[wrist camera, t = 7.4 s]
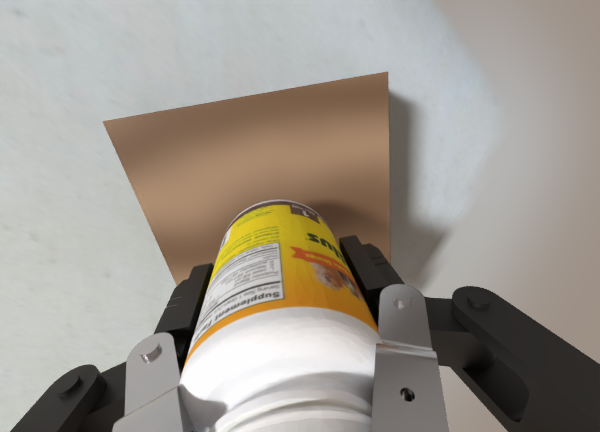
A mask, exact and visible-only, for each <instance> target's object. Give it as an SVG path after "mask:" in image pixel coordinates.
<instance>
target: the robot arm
mask: <svg viewBox="0 0 600 432" xmlns="http://www.w3.org/2000/svg"><path fill="white" fill-rule="evenodd" d="M339 248H340V251H341V253H342V255H343V257H344V259H345V261H346V263H347V265H348V267H349V269H350V271H351V273H352V275H353V277H354V279H355V281H356V283H357V285H358V287H359V289H360V291H361V293H362V295H363V297H364V299H365V302H366V304H367V306H368V308H369V310H370V312H371V314H372V316H373V318H374V320H375V323H376V325H377V326H378V333H379V336H380V338H381V341H382V343H383V344H381V343H376V352H375V369H374V386H373V404H372V421H371V432H449V428H448V422H447V417H446V416H447V415H446V409H445V403H444V397H443V390H442V384H441V378H440V372H439V365H440V366H449V367H451V368H452V370H453V371H454V372H455V373H456V374H457V375H458V376H459V377H460V379H461V380H462V381H463V382H464V383H465V384H466V385H467V386H468V387H469V389H470V390H471V391H472V392H473V393H474V394H475V395H476V396H477V398H478V399H479V400H480V401H481V402H482V403H483V404H484V405H485V406H486V407H487V409H488V410H489V411H490V412H491V413H492V414H493V415H494V416H495V418H496V419H497V420H498V421H499V422H500V423H501V424H502V425H503V426H504V428H505V429H506V430H507V431H508V432H600V364H599V363H597V362H595V361H594V360H593V359H591V358H590V357H588V356H587V355H585V354H584V353H582V352H580V351H579V350H578V349H576V348H575V347H573V346H572V345H570V344H569V343H567V342H566V341H564V340H563V339H562V338H560V337H559V336H557V335H555V334H554V333H552V332H551V331H550V330H548V329H547V328H545V327H544V326H542V325H541V324H539V323H538V322H536V321H535V320H533V319H532V318H530V317H529V316H527V315H526V314H524V313H523V312H521V311H520V310H519V309H517V308H516V307H514V306H513V305H511V304H510V303H508V302H507V301H505V300H504V299H502V298H501V297H499V296H498V295H496V294H495V293H493V292H491V291H489V290H487V289H484V288H480V287H473V286H466V287H462V288H459V289H457V290H455V291H454V293H453V295H452V299H442V298H429V297H424V296H423V295H422V293H421V292H420V291H419V290H417V289H416V288H414V287H411V286H408V285H405V284H404V282H403V281H402V280H401V278H400V277H399V276H398V274H397V273H396V271H395V270H394V269H393V267H392V266H391V265H390V263H388V261H387V259H386V258H385V257H384V255H383V254H382V252H381V251H380V250H379V248H377V247H375V246H374V245H372V244H370V243H368V244H363V245H362V244H361V242H360V241H359V239H358V237H357V236H356V235H351V236H346V237H341V238H339ZM213 269H214V265H213V264H212V263H208V264H203V265H198V266H194V267H193V269H192V271H191V273H190V276H189V278H188V279H186V280H183V281H182V282H181V283H180V284H179V285H178V286H177V287H176V288H175V289H174V291H173V293H172V295H171V297H170V300H169V302H168V304H167V308H165V310H164V313H163V315H162V317H161V319H160V321H159V323H158V325H157V328H156V330H155V332H154V334H153V335H151V336H149V337H147V338H145V339H144V340H142V341H141V342H140V343H138V344H137V345H136V346H135V347H134V348H133V350H132V351H131V352H130V354H129V356H128V358H127V361H126V362H124V363H122V364H120V365H117V366H115V367H113V368H111V369H109V370H106V371H104V372H102V373H100V372H99V370H98V369H97V368H96V366H94V365H83V366H79V367H77V368H75V369H73V370H71V371H69V372H67V373H66V374H64V375H63V376H61V377H60V378H59V379H58V380H56V381H55V382H54V383H53V384H52V385H51V386H50V387H49V388H48V389H47V391H46V392H45V393H44V394H43V395H42V396H41V397H40V398H39V400H38V401H37V402H36V403H35V404H34V405H33V406H32V407H31V409H30V410H29V411H28V412H27V413H26V414H25V415H24V417H23V418H22V419H21V420H20V421H19V422H18V423H17V424H16V426H15V427H14V428H13V429H12V430H11V431H10V432H197V431H196V429H195V427H194V425H193V423H192V421H191V419H190V417H189V415H188V413H187V410H186V408H185V405H184V403H183V400H182V396H181V392H180V386H179V383H180V379H181V375H182V372H183V368H184V365H185V362H186V359H187V355H188V352H189V348H190V345H191V341H192V338H193V335H194V332H195V329H196V326H197V322H198V319H199V316H200V312H201V309H202V306H203V302H204V299H205V295H206V292H207V289H208V285H209V282H210V279H211V276H212V273H213Z"/></svg>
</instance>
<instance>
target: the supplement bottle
mask: <svg viewBox="0 0 600 432" xmlns="http://www.w3.org/2000/svg"><path fill="white" fill-rule="evenodd" d="M376 343H381V344H383V343H382V341H381V338H380V336H379V333H378V326H377V325H376V323H375V320H374V318H373V316H372V314H371V312H370V310H369V308H368V306H367V304H366V302H365V299H364V297H363V295H362V293H361V291H360V289H359V287H358V285H357V283H356V281H355V279H354V277H353V275H352V273H351V271H350V269H349V267H348V265H347V263H346V261H345V259H344V257H343V255H342V253H341V251H340V249H339V246H338V244H337V242H336V240H335V238H334V236H333V234H332V232H331V230H330V229H329V227H328V225H327V224H326V222H325V221H324V220H323V218H322V217H321V216H320V215H319V214H318V213H316V212H315V211H314V210H312V209H311V208H309V207H307V206H305V205H303V204H301V203H298V202H295V201H290V200H269V201H264V202H261V203H258V204H255V205H253V206H251V207H249V208H247V209H246V210H244V211H243V212H241V213H240V214H239V215H238V216H237V217H236V218H235V219H234V220H233V221H232V222H231V224H230V225H229V227H228V229H227V230H226V233H225V235H224V237H223V240H222V243H221V247H220V250H219V253H218V256H217V259H216V263H215V266H214V269H213V273H212V276H211V279H210V282H209V285H208V289H207V292H206V295H205V299H204V302H203V306H202V309H201V312H200V316H199V319H198V322H197V326H196V329H195V332H194V335H193V338H192V341H191V345H190V348H189V352H188V355H187V359H186V362H185V365H184V368H183V372H182V375H181V379H180V383H179V386H180V392H181V396H182V400H183V403H184V405H185V408H186V410H187V413H188V415H189V417H190V419H191V421H192V423H193V425H194V427H195V429H196V431H197V432H371V421H372V404H373V386H374V369H375V352H376Z"/></svg>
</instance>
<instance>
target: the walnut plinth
mask: <svg viewBox="0 0 600 432" xmlns="http://www.w3.org/2000/svg"><path fill="white" fill-rule="evenodd" d="M103 124H104V126H105V128H106V130H107V132H108V135H109V137H110V139H111V141H112V143H113V146H114V148H115V150H116V152H117V154H118V157H119V159H120V161H121V163H122V166H123V168H124V170H125V172H126V174H127V177H128V179H129V181H130V183H131V185H132V188H133V190H134V192H135V194H136V196H137V199H138V201H139V203H140V205H141V208H142V210H143V212H144V214H145V216H146V219H147V221H148V223H149V225H150V227H151V230H152V232H153V234H154V236H155V238H156V241H157V243H158V245H159V247H160V250H161V252H162V254H163V256H164V258H165V261H166V263H167V265H168V267H169V269H170V272H171V274H172V276H173V278H174V281H175V283H176V285H177V286H178V285H179V284H180V283H181V282H182V281H183V280H186V279H188V278H189V276H190V273H191V271H192V269H193V267H194V266H198V265H203V264H208V263H212V264H213V265H214V266H215V263H216V259H217V256H218V253H219V250H220V247H221V243H222V240H223V237H224V235H225V233H226V230H227V229H228V227H229V225H230V224H231V222H232V221H233V220H234V219H235V218H236V217H237V216H238V215H239V214H240V213H241V212H243V211H244V210H246V209H247V208H249V207H251V206H253V205H255V204H258V203H261V202H264V201H269V200H290V201H295V202H298V203H301V204H303V205H305V206H307V207H309V208H311V209H312V210H314V211H315V212H316V213H318V214H319V215H320V216H321V217H322V218H323V220H324V221H325V222H326V224H327V225H328V227H329V229H330V230H331V232H332V234H333V236H334V238H335V240H336V242H337V244H338V246H339V238H341V237H346V236H351V235H356V236H357V237H358V239H359V241H360V242H361V244H362V245H363V244H368V243H370V244H372V245H374V246H375V247H377V248H379V250H380V251H381V252H382V254H383V255H384V257H385V258H386V259H387V261H388V263H390V265H391V251H390V175H389V98H388V72H383V73H377V74H371V75H365V76H360V77H354V78H348V79H342V80H337V81H331V82H325V83H320V84H314V85H308V86H302V87H297V88H291V89H285V90H280V91H274V92H268V93H262V94H257V95H251V96H245V97H239V98H234V99H228V100H222V101H217V102H211V103H205V104H199V105H194V106H188V107H182V108H176V109H171V110H165V111H159V112H154V113H148V114H142V115H136V116H131V117H125V118H119V119H114V120H108V121H103ZM339 249H340V248H339Z"/></svg>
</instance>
